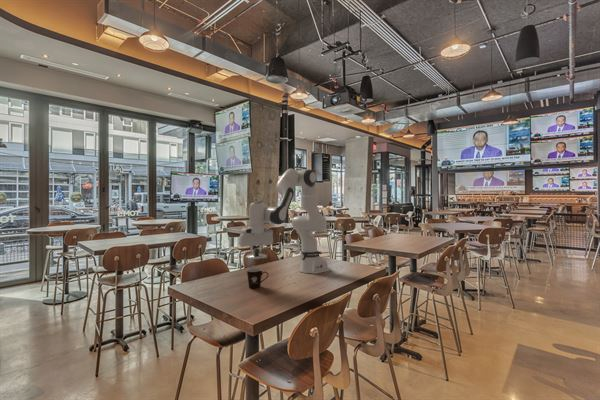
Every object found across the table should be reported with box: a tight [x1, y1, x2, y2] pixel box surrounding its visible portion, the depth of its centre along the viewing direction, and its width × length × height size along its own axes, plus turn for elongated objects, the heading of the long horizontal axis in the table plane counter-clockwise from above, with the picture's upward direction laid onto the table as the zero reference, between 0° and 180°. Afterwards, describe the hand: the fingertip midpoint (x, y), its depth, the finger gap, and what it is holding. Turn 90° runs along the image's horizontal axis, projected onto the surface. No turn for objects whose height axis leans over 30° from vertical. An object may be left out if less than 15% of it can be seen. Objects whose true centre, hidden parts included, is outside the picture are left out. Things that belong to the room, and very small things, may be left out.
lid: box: [245, 247, 268, 260], centre depth 174 cm, size 12×12×5 cm
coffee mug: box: [246, 267, 269, 290], centre depth 174 cm, size 12×9×10 cm
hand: (256, 253), depth 174 cm, fingers closed on lid, 3 cm apart
